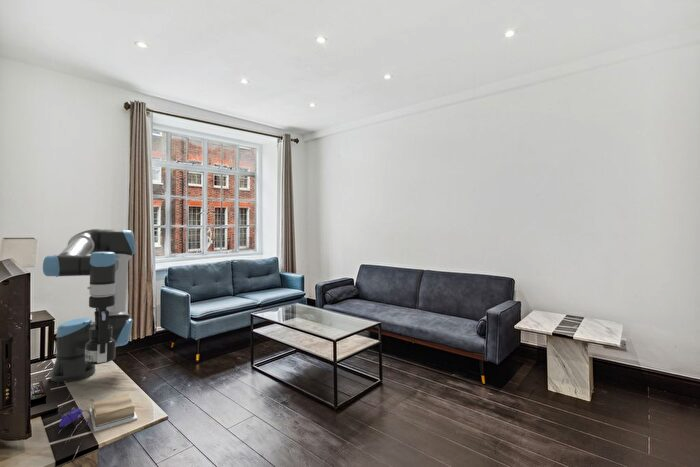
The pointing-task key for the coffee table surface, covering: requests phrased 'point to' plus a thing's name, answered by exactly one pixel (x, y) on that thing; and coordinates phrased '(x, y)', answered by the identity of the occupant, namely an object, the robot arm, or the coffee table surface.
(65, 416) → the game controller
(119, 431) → the coffee table surface
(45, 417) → the coffee table surface
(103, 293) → the robot arm
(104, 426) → the grey thin flat slab
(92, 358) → the ink bottle
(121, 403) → the oak plinth
